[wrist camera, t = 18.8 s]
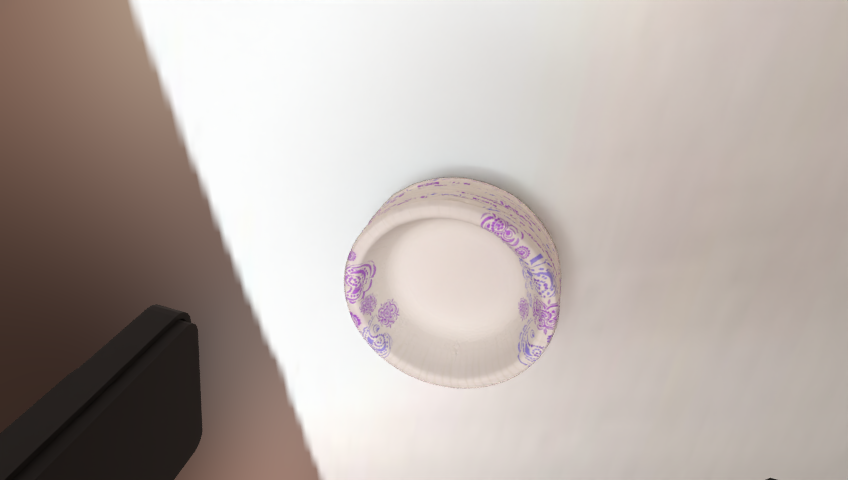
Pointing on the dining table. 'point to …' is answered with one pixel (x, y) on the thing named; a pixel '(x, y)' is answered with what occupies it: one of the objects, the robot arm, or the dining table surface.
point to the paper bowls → (455, 283)
